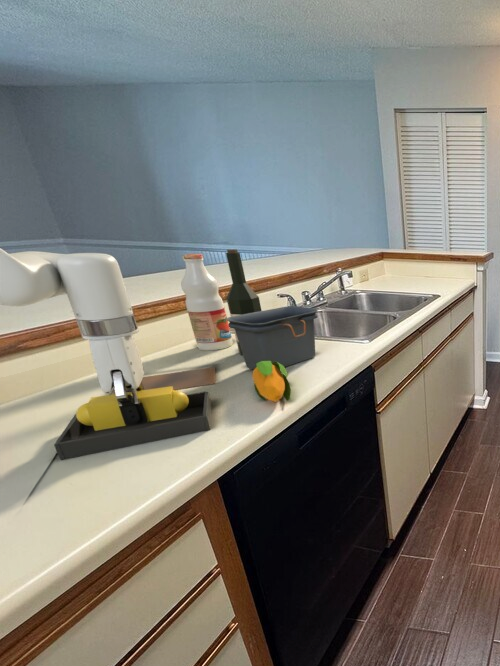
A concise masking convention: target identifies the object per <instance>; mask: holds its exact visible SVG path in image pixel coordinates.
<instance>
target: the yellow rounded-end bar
mask: <svg viewBox="0 0 500 666" xmlns="http://www.w3.org/2000/svg"><path fill="white" fill-rule="evenodd" d="M127 393H128V395H129V394H131V396H133V395H132V392H127ZM137 394H138V398H139V402H140V403H142V404H143V407H144V410H145V413H146V416H147V419H148V420H147V422H150V421H156V420H162V419H168V418H173V417H177V415H178V412H180V411H182V410H184V409H185V408H186V407H187V406H188V403H189V399H188V397H187V395H188V394H187V393H185V392H183V391H182V390H173V387H172V386H170V387H163V388H156V389H149V390H141V391H137ZM75 414H76V417H77V419H78V421H79V422H81V423H82V424H84V425H87V426H93V427H94V429H95V431H97V430H103V429H109V428H115V427H121V426H126V425H125V423H124V420H123V417H122V414H121V411H120V408H119V404H118V401H117V398H116V394H113V395H111V394H105V395H100V396H92V397H90V399H89V401H88V402H86V403H84V404H82V405H80V406H79V407H78V408H77V409H76V413H75Z"/></svg>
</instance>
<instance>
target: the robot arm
mask: <svg viewBox="0 0 500 666" xmlns="http://www.w3.org/2000/svg"><path fill="white" fill-rule="evenodd" d="M63 295H64V296H65V295H67V299H68V302H69V305H70V307H71V309H72V312H73V315H74V318H75V321H76V323H77V326H78V329H79V332H80V335H81V338H82V339H85V340H88V343H89V349H90V354H91V358H92V361H93V365H94V369H95V372H96V375H97V380H98V383H99V386H100V390H101V392H102V393H104V394H105V395H108V394H109V393H112V392H111V391H112V390H113V391H114V390H115V394H116V398H117V401H118V404H119V408H120V411H121V414H122V417H123V420H124V423H125V425H126V426H130V425H136V424H142V423H146V422H147V420H148V419H147V416H146V413H145V410H144V407H143V404H142V403H140V402H139V398H138V394H137V391H141V390H144V387H143V384H142V382H141V381H142V379H143V377H145V371H144V367H143V363H142V359H141V356H140V353H139V350H138V347H137V343H136V341H135V337H134V335H135V334H138V333H139V332H140V331H139V328H138V323H137V320H136V317H135V314H134V311H133V307H132V304H131V301H130V297H129V294H128V290H127V288H126V284H125V281H124V278H123V274H122V271H121V267H120V264H119V263H118V260H117V259H116V258H115V257H114V256H113V255H111V254H108V253H104V252H103V253H102V252H77V253H57V252H48V251H37V250H28V251H20V252H12V253H8V252H7V251H5V250H4V249H2V248H1V247H0V305H2V306H5V307H7V306H8V307H25V306H29V305H33V304H37V303H39V302H43V301H44V300H47V299H52V298H56V297H58V296H63ZM127 392H132V395H133V396H131V394H129V395H128V393H127Z"/></svg>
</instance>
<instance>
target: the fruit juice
mask: <svg viewBox="0 0 500 666" xmlns="http://www.w3.org/2000/svg"><path fill="white" fill-rule="evenodd" d="M203 255H204V254H202V253H186V254H182V255H181V257H182V261H183V262H184V264H185V272H184V276H183V277H182V279H181V281H180V287H181V290H182V292H183V293H184V295H185V307H186V311H187V314H188V317H189V321H190V326H191V329H192V333H193V335H194V340H195V343H196V346H197V348H198V349H199V350H201V351H216V350H223V349H227V348H230V347H232V346H233V344H234V342H233V337H232V333H231V328H230V327H229V321H227V320H226V318H228V316H227V313H226V308H225V304H224V300H223V298H222V297H221V296H220V293H219V289H220V286H219V282H218V281H217V279H216V278H215V277H214V276H213V275H212V274H210V272H209V271H208V270H207V268H206V266H205V264H204V256H203Z"/></svg>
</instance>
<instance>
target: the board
mask: <svg viewBox="0 0 500 666" xmlns="http://www.w3.org/2000/svg"><path fill="white" fill-rule="evenodd" d="M141 382H142V384H143V387H144V390H149V389H156V388H163V387H170V386H172V387H173V390H177V391H182V390H187V389H194V388H199V387H205V386H212V385H216V366H211V367H205V368H197V369H191V370H182V371H176V372H169V373H161V374H155V375H147V376H143V379H142V381H141ZM113 394H115V390H114V389H113V391H112V392H111V394H110V395H113Z"/></svg>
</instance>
